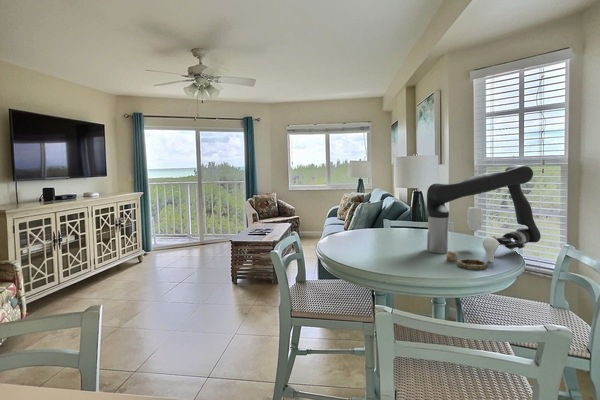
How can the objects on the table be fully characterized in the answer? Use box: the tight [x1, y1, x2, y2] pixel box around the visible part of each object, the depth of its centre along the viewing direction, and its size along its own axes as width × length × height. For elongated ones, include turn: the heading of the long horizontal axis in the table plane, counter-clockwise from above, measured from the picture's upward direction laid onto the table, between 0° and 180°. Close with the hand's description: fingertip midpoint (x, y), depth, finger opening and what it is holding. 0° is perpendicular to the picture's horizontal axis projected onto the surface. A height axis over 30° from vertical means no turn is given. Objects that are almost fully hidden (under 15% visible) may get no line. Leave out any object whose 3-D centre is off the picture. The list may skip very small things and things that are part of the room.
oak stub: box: [446, 250, 458, 264], centre depth 151 cm, size 4×4×4 cm
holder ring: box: [457, 258, 488, 271], centre depth 144 cm, size 10×10×2 cm
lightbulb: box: [482, 236, 500, 263], centre depth 149 cm, size 6×6×11 cm
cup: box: [466, 206, 484, 232], centre depth 173 cm, size 7×7×21 cm
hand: (498, 244), depth 154 cm, fingers open, 8 cm apart
